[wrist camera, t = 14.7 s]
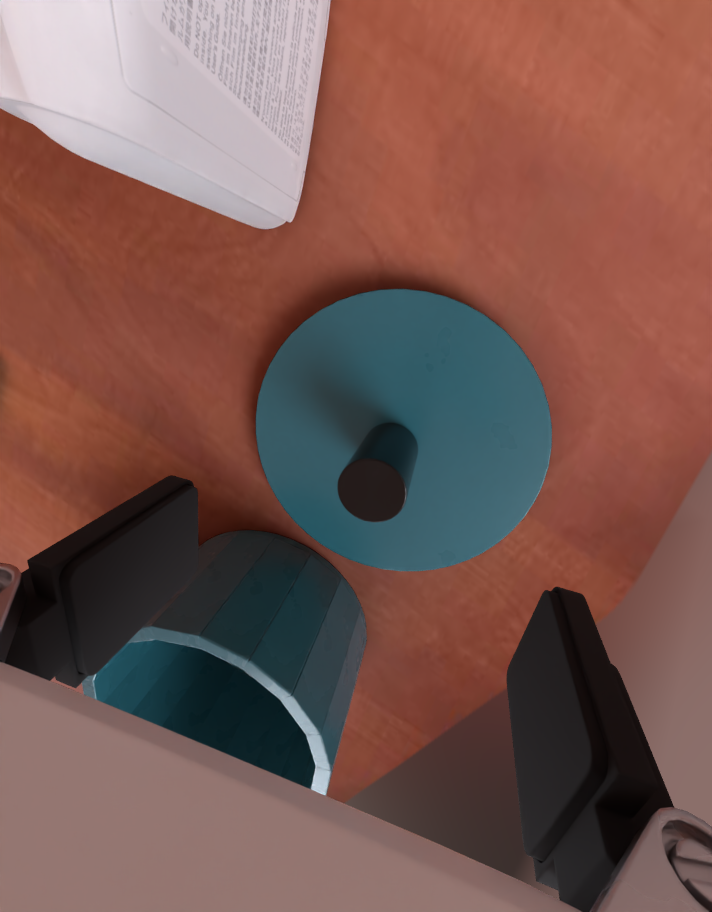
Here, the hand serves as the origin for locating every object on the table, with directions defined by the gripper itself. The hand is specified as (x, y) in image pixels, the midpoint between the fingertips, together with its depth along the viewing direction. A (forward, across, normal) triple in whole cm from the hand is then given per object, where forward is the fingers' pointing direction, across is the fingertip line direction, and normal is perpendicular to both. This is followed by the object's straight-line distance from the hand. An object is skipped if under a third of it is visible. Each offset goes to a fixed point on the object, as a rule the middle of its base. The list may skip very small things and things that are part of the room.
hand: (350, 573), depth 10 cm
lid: (+11, +1, 0) cm, 11 cm away
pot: (+11, +7, +16) cm, 20 cm away
